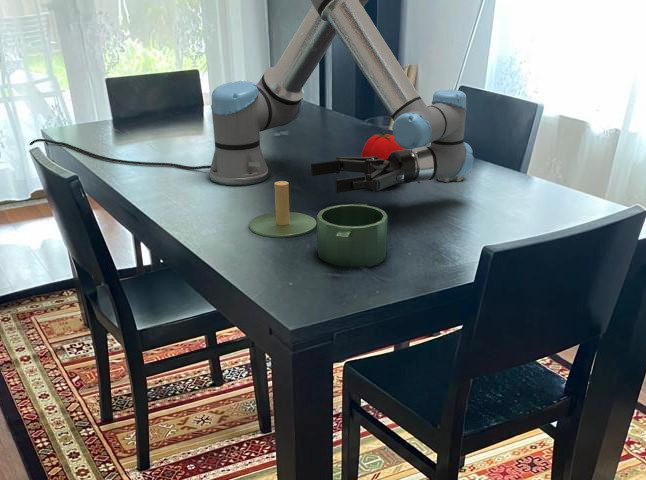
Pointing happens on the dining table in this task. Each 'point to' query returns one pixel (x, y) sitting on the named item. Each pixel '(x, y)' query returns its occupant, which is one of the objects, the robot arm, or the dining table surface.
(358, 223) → the pot
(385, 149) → the tomato
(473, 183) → the dining table surface
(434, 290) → the dining table surface
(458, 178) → the egg carton
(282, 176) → the dining table surface
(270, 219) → the lid
